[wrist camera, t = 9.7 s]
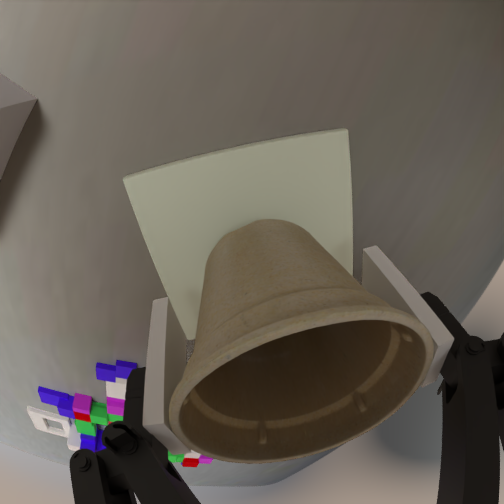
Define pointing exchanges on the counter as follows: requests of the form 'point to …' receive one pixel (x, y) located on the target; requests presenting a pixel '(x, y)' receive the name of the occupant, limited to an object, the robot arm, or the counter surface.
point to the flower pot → (291, 352)
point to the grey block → (12, 116)
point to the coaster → (241, 205)
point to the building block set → (95, 413)
